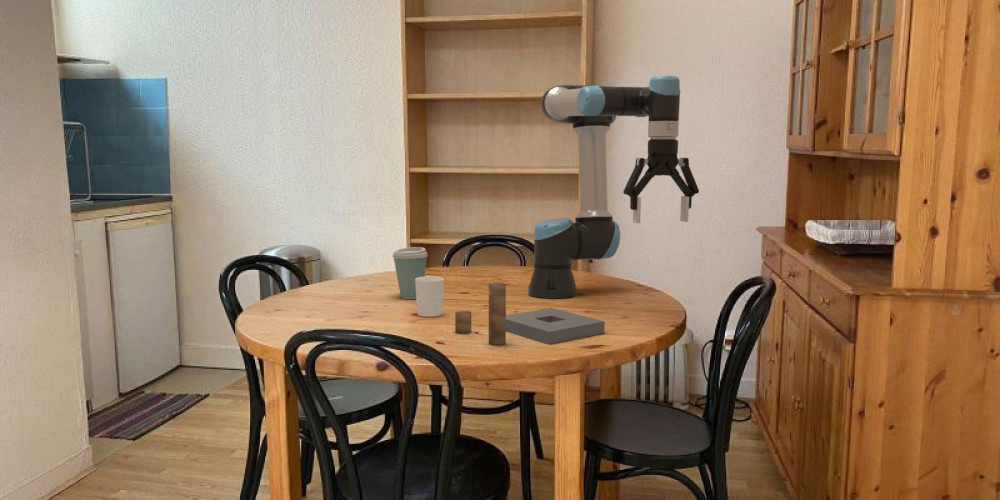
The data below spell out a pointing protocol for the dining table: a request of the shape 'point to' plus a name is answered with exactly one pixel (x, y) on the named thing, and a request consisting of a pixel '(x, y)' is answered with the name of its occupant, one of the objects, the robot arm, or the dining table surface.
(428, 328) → the dining table surface
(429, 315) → the white cup
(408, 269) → the disposable coffee cup
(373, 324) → the dining table surface
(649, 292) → the dining table surface
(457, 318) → the short pin
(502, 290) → the tall pin
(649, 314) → the dining table surface
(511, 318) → the hole plate
